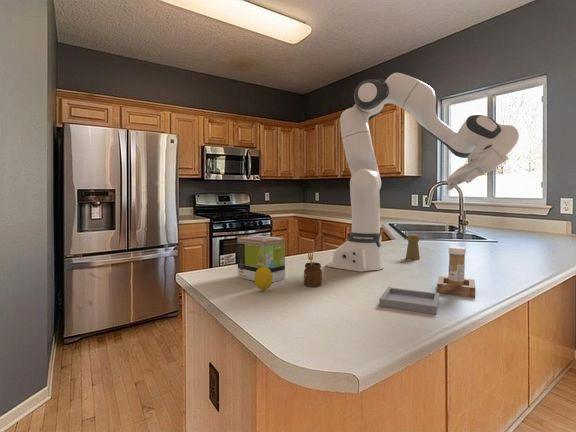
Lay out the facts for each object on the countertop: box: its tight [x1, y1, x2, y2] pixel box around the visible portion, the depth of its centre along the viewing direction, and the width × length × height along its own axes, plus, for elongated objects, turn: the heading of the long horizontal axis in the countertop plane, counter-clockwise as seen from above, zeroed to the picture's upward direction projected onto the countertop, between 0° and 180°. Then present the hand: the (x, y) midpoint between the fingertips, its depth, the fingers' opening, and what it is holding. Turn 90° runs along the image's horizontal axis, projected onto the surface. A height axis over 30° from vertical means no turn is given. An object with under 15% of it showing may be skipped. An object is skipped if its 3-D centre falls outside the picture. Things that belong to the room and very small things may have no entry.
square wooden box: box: [436, 275, 476, 298], centre depth 102 cm, size 10×10×3 cm
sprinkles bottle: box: [447, 245, 467, 285], centre depth 102 cm, size 5×5×14 cm
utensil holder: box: [303, 250, 323, 288], centre depth 110 cm, size 6×6×12 cm
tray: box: [378, 286, 440, 315], centre depth 91 cm, size 14×12×2 cm
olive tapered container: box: [405, 233, 421, 261], centre depth 150 cm, size 6×6×11 cm
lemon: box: [254, 266, 273, 292], centre depth 103 cm, size 6×6×8 cm
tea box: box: [236, 235, 286, 283], centre depth 119 cm, size 15×10×15 cm
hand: (457, 184), depth 111 cm, fingers open, 8 cm apart
